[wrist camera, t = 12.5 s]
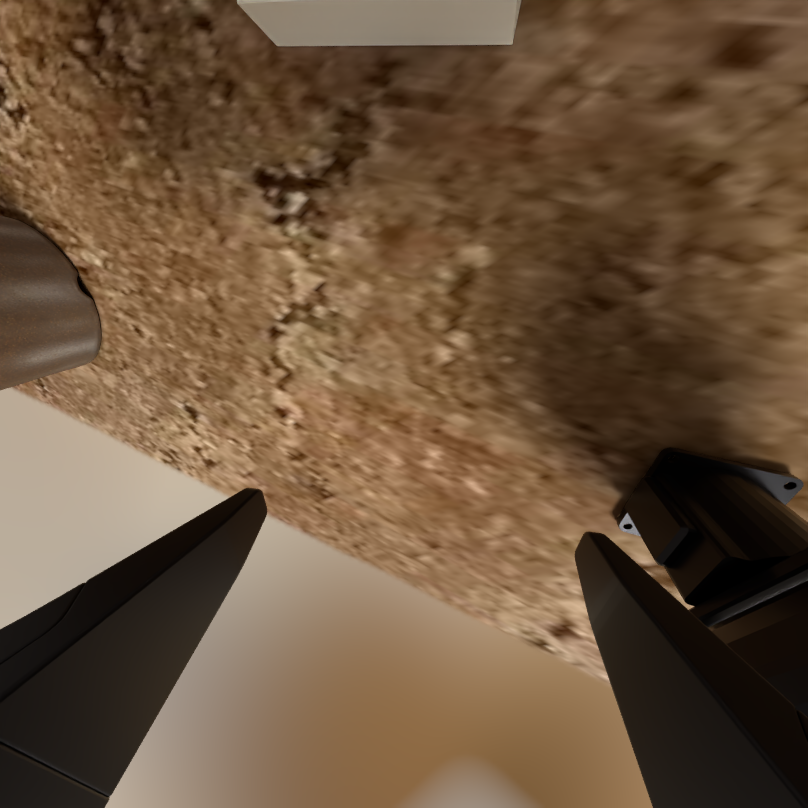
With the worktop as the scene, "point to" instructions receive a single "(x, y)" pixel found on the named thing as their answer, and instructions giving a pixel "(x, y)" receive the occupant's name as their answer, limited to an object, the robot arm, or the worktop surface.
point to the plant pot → (41, 309)
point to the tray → (385, 22)
